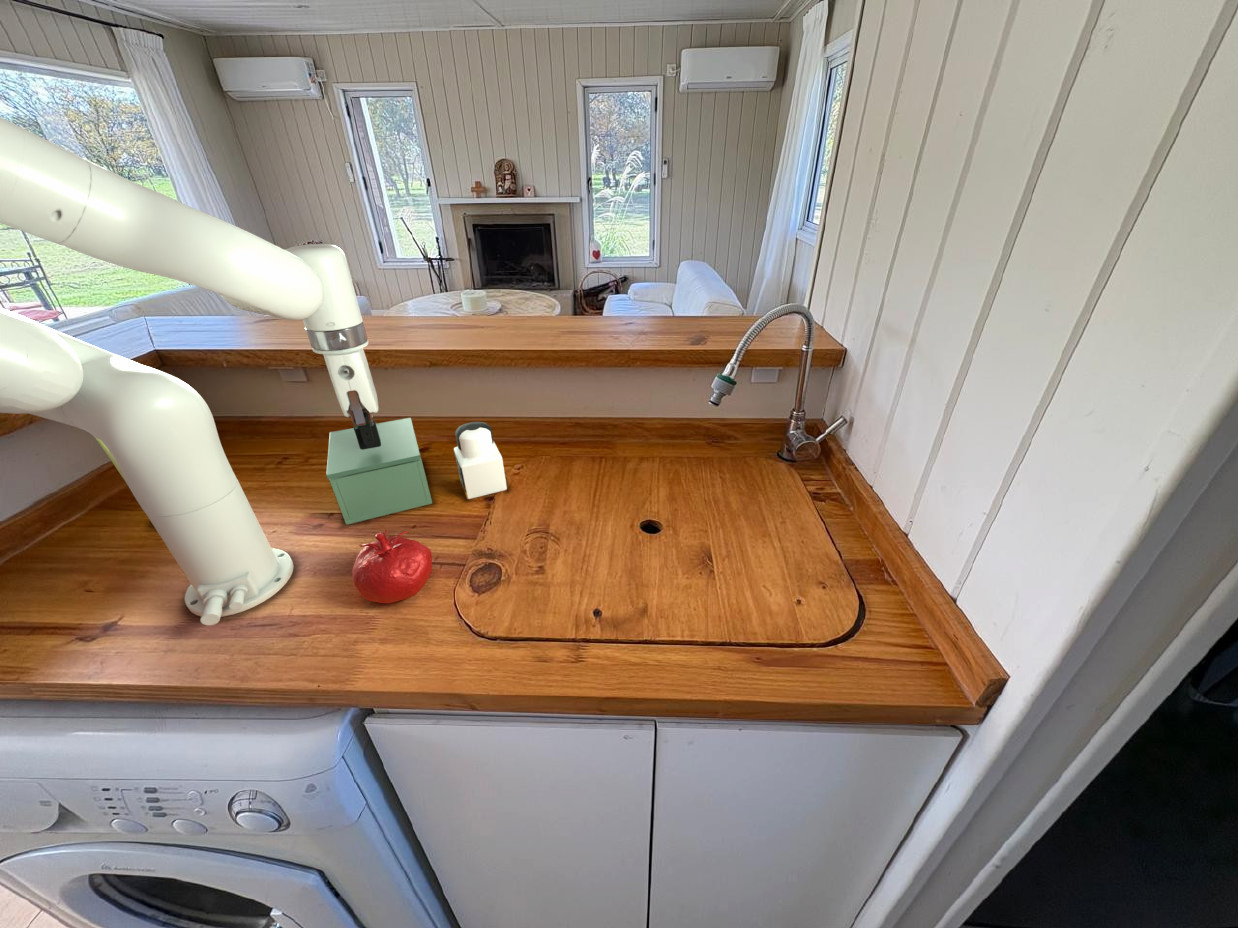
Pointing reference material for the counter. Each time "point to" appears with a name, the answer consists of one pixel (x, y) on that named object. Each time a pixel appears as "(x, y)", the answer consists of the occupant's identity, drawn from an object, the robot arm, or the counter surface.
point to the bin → (381, 491)
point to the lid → (372, 449)
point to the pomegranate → (391, 568)
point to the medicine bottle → (478, 460)
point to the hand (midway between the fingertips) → (370, 445)
